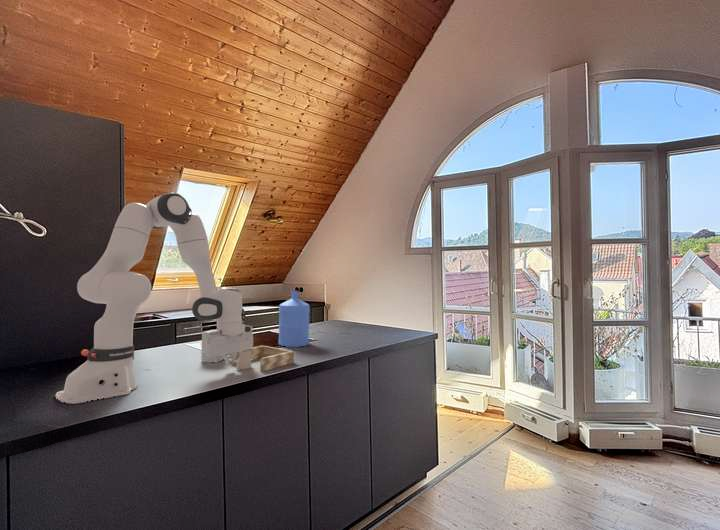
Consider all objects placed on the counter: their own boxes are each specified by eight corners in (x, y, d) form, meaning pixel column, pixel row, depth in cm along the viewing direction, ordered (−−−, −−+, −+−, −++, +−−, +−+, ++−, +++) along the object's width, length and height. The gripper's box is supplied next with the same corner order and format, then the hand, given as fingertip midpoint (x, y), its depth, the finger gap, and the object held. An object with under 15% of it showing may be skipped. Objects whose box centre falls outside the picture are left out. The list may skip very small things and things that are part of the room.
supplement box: (216, 363, 177) (217, 333, 177) (200, 362, 178) (201, 332, 178) (225, 359, 184) (226, 330, 184) (210, 358, 185) (210, 329, 185)
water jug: (306, 348, 210) (307, 292, 210) (275, 347, 211) (276, 291, 210) (310, 342, 226) (311, 290, 226) (281, 341, 226) (282, 289, 226)
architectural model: (233, 370, 168) (234, 351, 168) (248, 366, 174) (248, 348, 173) (239, 371, 166) (239, 352, 166) (253, 368, 171) (253, 349, 171)
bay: (262, 371, 165) (262, 358, 165) (230, 363, 176) (230, 351, 176) (294, 363, 179) (294, 351, 179) (263, 356, 190) (263, 345, 190)
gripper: (212, 333, 153) (211, 371, 153) (255, 326, 170) (255, 360, 170) (201, 331, 157) (201, 368, 157) (245, 325, 174) (245, 358, 174)
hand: (229, 364), depth 164 cm, fingers closed
